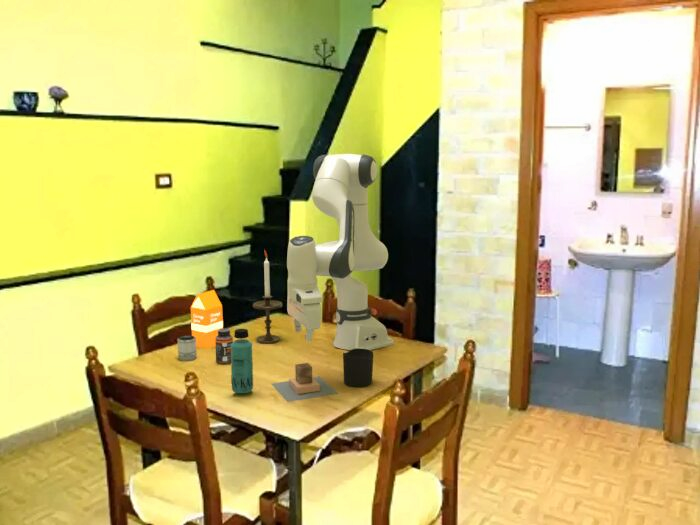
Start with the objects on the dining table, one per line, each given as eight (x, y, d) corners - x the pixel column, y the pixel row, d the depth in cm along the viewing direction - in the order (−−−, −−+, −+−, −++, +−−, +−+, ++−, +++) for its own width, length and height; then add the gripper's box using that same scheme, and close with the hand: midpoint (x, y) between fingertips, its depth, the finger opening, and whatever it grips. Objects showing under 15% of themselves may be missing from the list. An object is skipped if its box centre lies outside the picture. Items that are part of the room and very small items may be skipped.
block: (307, 378, 205) (307, 362, 204) (312, 382, 201) (312, 366, 200) (295, 380, 203) (295, 364, 202) (299, 384, 200) (299, 368, 199)
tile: (310, 375, 207) (319, 384, 200) (310, 382, 207) (319, 391, 200) (289, 379, 204) (297, 387, 197) (289, 385, 205) (297, 394, 197)
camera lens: (197, 360, 230) (196, 338, 229) (178, 362, 229) (177, 339, 227) (196, 354, 236) (195, 333, 235) (177, 356, 234) (176, 335, 233)
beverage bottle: (232, 390, 202) (230, 326, 198) (254, 389, 202) (252, 326, 199) (230, 398, 196) (228, 332, 192) (253, 398, 196) (251, 332, 193)
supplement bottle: (229, 365, 225) (228, 332, 223) (213, 364, 226) (211, 331, 224) (236, 359, 231) (235, 328, 229) (220, 358, 232) (218, 327, 230)
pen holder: (376, 388, 204) (376, 356, 202) (345, 390, 202) (346, 358, 200) (369, 377, 213) (369, 347, 211) (340, 379, 211) (340, 349, 209)
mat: (319, 377, 213) (319, 376, 213) (338, 394, 198) (338, 393, 198) (271, 384, 207) (271, 383, 206) (287, 403, 192) (287, 401, 192)
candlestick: (260, 346, 246) (258, 252, 240) (249, 339, 255) (247, 248, 249) (287, 341, 251) (285, 250, 245) (275, 334, 260) (273, 246, 254)
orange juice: (223, 342, 251) (222, 290, 247) (207, 348, 243) (204, 295, 240) (208, 339, 255) (206, 288, 251) (191, 345, 247) (189, 292, 244)
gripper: (281, 285, 205) (282, 328, 208) (303, 300, 187) (304, 347, 190) (301, 283, 208) (301, 325, 210) (324, 298, 189) (325, 344, 192)
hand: (303, 336), depth 200 cm, fingers open, 8 cm apart
